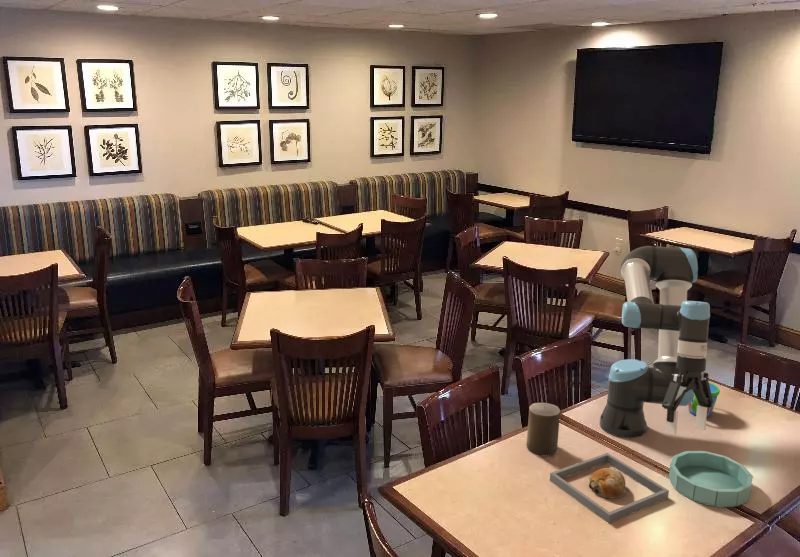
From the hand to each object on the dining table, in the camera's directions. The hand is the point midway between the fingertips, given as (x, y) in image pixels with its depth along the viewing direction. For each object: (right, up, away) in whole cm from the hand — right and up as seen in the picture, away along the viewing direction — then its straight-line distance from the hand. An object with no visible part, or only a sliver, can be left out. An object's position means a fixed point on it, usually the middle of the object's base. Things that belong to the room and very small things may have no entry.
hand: (686, 431), depth 186 cm
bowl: (+9, -17, +6) cm, 20 cm away
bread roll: (-21, -18, +4) cm, 28 cm away
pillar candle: (-35, -12, +26) cm, 45 cm away
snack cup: (+26, -5, +49) cm, 56 cm away
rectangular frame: (-21, -18, +4) cm, 28 cm away
